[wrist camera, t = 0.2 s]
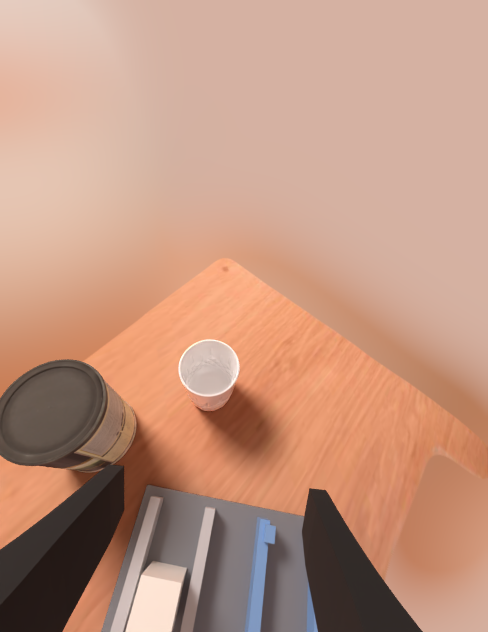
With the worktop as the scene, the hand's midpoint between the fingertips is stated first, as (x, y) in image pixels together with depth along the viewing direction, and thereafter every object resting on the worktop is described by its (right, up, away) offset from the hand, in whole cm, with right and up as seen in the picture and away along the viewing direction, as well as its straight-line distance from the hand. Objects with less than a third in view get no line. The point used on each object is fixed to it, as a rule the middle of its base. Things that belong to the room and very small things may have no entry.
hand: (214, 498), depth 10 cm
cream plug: (-8, -23, +20) cm, 31 cm away
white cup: (-4, -5, +33) cm, 34 cm away
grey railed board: (-1, -25, +20) cm, 32 cm away
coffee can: (-20, -10, +29) cm, 36 cm away
